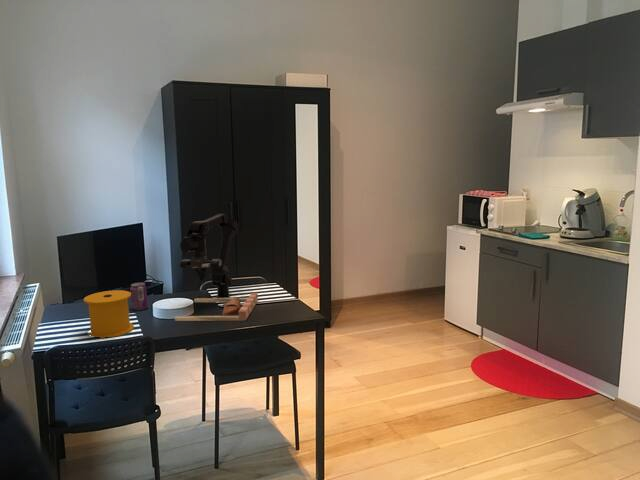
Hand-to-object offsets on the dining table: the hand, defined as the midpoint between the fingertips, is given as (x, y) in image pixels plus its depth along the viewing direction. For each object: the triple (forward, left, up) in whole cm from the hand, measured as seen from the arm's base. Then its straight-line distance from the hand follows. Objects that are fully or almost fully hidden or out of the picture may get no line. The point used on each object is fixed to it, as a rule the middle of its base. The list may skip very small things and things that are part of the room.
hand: (201, 280), depth 246 cm
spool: (+35, -29, -12) cm, 47 cm away
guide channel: (+8, +9, -12) cm, 17 cm away
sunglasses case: (+6, +15, -13) cm, 21 cm away
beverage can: (+5, -29, -12) cm, 32 cm away
